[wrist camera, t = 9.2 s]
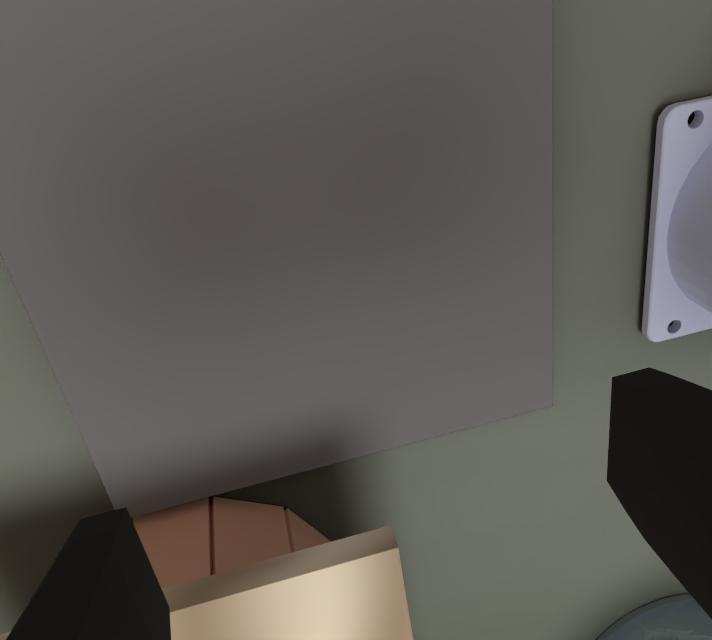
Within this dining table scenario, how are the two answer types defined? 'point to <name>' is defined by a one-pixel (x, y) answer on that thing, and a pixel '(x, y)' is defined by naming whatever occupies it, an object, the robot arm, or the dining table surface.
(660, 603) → the dark green cup
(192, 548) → the bowl
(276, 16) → the mat
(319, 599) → the lid
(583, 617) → the dining table surface
